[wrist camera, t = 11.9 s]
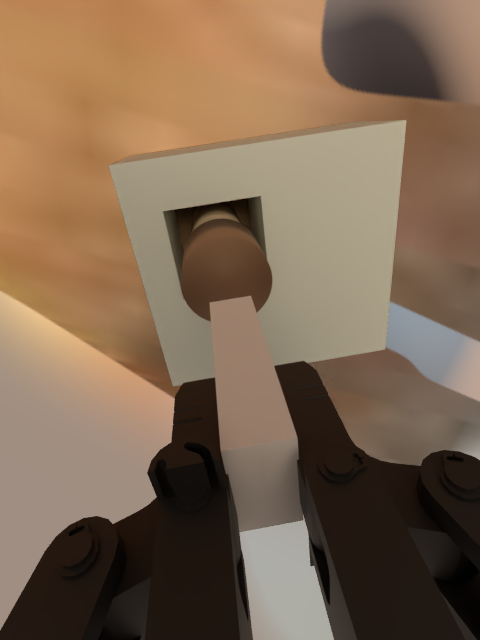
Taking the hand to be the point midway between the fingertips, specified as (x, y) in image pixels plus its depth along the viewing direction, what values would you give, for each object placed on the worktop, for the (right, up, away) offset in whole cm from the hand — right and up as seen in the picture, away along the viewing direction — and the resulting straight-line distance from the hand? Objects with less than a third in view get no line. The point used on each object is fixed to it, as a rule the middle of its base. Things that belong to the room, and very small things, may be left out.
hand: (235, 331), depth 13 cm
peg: (-2, +8, +14) cm, 16 cm away
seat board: (+1, +7, +15) cm, 17 cm away
